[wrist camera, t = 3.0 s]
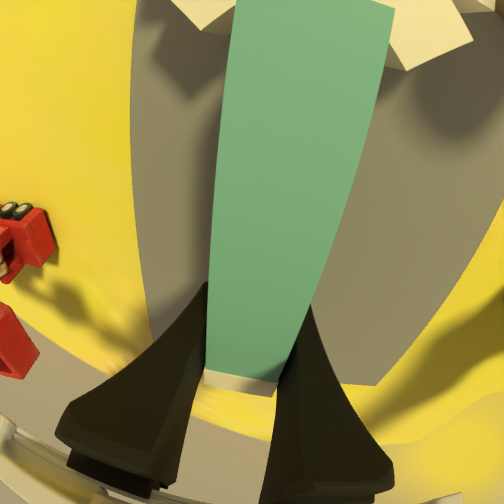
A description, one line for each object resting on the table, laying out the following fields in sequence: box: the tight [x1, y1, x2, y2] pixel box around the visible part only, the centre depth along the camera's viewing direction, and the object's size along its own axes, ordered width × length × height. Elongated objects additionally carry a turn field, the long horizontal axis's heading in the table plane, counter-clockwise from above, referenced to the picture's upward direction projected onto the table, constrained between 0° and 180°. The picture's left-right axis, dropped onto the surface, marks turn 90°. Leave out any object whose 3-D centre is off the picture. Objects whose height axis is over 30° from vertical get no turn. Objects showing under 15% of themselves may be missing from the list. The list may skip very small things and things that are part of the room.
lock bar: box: [204, 0, 395, 397], centre depth 8 cm, size 3×12×2 cm, turn 173°
